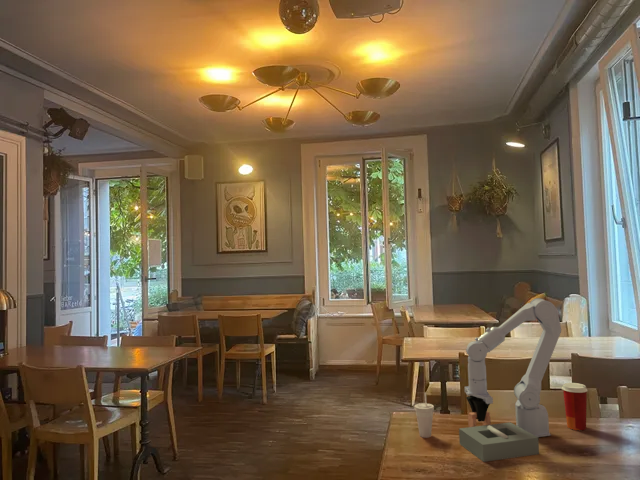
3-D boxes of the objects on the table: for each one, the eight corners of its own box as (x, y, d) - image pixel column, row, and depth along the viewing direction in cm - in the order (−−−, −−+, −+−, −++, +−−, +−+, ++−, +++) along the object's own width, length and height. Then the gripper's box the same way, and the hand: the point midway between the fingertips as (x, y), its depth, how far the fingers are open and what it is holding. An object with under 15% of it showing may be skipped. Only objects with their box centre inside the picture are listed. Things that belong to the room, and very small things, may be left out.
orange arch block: (486, 428, 169) (485, 410, 169) (491, 431, 166) (490, 413, 166) (468, 430, 168) (467, 412, 168) (473, 433, 165) (472, 415, 165)
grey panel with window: (511, 437, 162) (510, 419, 162) (539, 454, 148) (538, 434, 148) (459, 444, 158) (458, 425, 158) (483, 461, 144) (482, 441, 144)
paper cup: (590, 425, 169) (588, 383, 169) (588, 433, 163) (586, 389, 163) (564, 422, 173) (562, 381, 174) (561, 429, 167) (559, 386, 167)
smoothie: (435, 439, 162) (433, 395, 162) (415, 438, 163) (413, 395, 164) (435, 432, 168) (433, 390, 169) (415, 431, 170) (413, 389, 170)
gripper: (455, 374, 173) (457, 414, 173) (477, 385, 159) (479, 428, 159) (474, 372, 175) (476, 412, 175) (497, 382, 161) (500, 425, 161)
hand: (479, 419), depth 167 cm, fingers closed on orange arch block, 2 cm apart
